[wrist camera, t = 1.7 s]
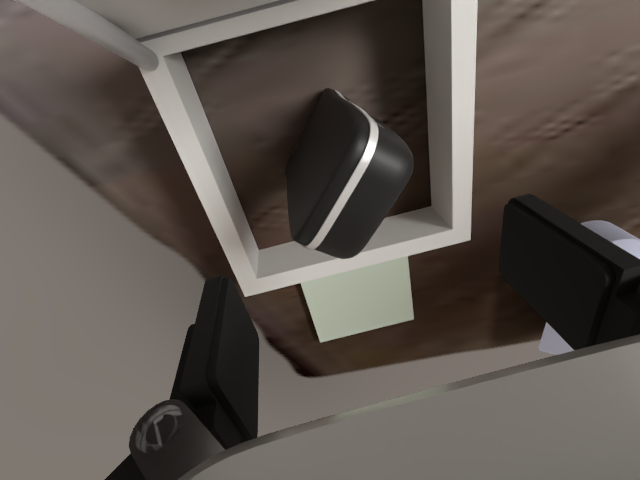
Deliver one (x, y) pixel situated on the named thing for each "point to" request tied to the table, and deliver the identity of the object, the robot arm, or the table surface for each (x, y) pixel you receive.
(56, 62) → the table surface
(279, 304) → the table surface
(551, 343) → the wedge on round base
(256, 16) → the white bent frame
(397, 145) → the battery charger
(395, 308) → the pad
